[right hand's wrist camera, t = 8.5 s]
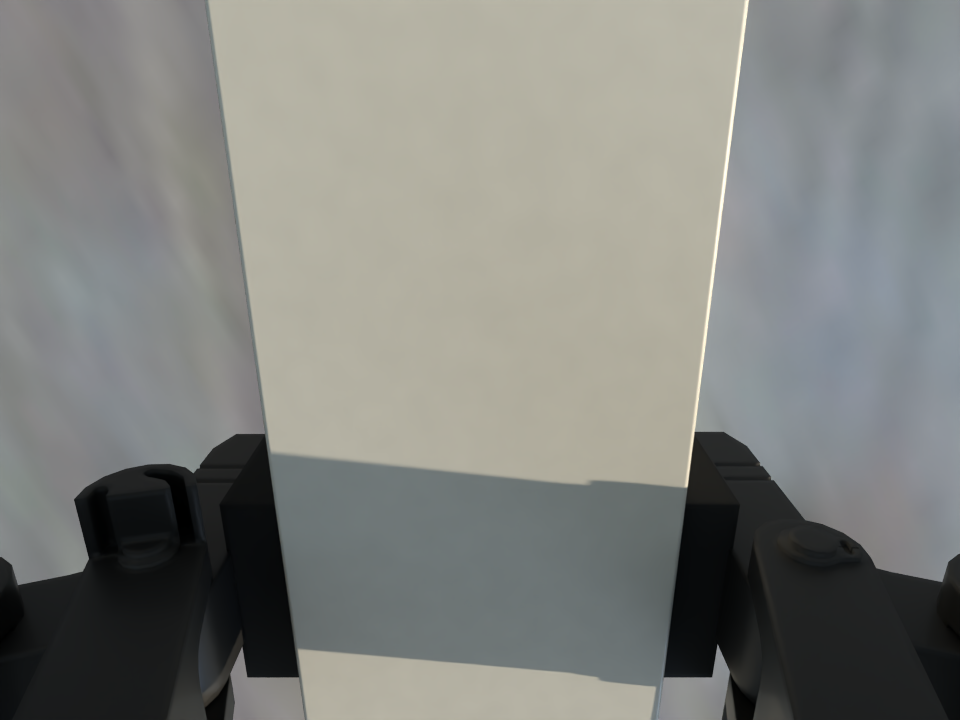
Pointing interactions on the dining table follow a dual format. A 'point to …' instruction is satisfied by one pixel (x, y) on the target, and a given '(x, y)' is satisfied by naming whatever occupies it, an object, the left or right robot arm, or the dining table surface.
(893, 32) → the dining table surface
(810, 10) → the dining table surface
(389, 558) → the beam
